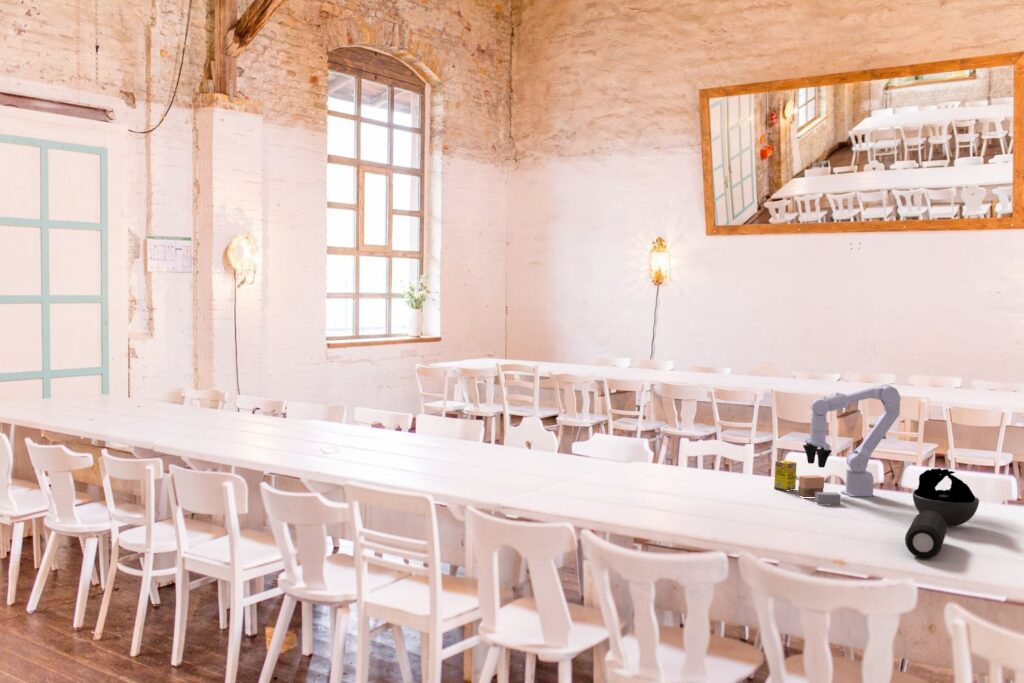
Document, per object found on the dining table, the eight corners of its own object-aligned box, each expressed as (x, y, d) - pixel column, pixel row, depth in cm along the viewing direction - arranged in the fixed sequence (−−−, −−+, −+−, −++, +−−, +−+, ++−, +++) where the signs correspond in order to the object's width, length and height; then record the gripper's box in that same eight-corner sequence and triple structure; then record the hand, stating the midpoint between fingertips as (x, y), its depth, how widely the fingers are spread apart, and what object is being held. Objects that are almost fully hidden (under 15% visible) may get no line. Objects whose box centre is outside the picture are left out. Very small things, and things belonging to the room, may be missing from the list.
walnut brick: (817, 496, 353) (817, 485, 353) (822, 498, 349) (823, 487, 349) (798, 496, 351) (798, 486, 351) (803, 499, 347) (803, 488, 347)
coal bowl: (921, 515, 324) (923, 462, 323) (984, 525, 311) (987, 470, 310) (903, 526, 308) (906, 470, 307) (969, 537, 296) (971, 478, 295)
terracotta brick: (818, 485, 352) (818, 475, 352) (823, 488, 349) (824, 477, 348) (798, 486, 351) (799, 475, 351) (804, 488, 347) (804, 477, 347)
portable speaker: (940, 563, 267) (942, 529, 266) (903, 558, 271) (904, 524, 271) (947, 543, 289) (948, 511, 288) (912, 538, 294) (914, 507, 293)
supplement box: (787, 491, 359) (788, 463, 358) (773, 489, 363) (774, 461, 363) (795, 490, 362) (797, 462, 362) (782, 487, 367) (783, 459, 366)
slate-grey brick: (836, 503, 341) (837, 492, 341) (840, 505, 337) (840, 494, 337) (814, 502, 342) (815, 492, 341) (817, 505, 338) (818, 494, 337)
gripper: (799, 427, 364) (796, 461, 365) (819, 433, 350) (816, 469, 351) (815, 427, 365) (813, 461, 366) (835, 433, 351) (833, 469, 352)
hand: (816, 465), depth 359 cm, fingers open, 7 cm apart
